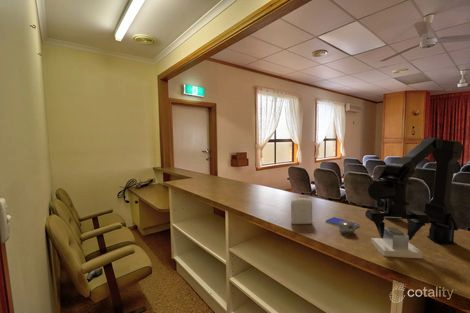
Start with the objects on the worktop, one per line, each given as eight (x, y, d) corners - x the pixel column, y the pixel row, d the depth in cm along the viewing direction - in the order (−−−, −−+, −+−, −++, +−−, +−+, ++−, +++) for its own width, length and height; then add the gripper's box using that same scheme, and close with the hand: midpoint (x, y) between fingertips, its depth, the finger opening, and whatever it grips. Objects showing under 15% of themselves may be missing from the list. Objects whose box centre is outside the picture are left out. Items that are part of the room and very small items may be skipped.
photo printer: (292, 224, 106) (292, 199, 105) (290, 221, 111) (290, 197, 110) (313, 224, 106) (313, 199, 105) (310, 221, 111) (310, 197, 110)
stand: (404, 244, 85) (404, 239, 85) (422, 258, 75) (422, 252, 75) (370, 242, 87) (371, 237, 87) (383, 256, 77) (384, 250, 77)
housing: (408, 249, 77) (408, 234, 77) (392, 248, 78) (393, 233, 78) (396, 240, 84) (397, 226, 84) (382, 239, 85) (383, 225, 84)
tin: (346, 228, 101) (345, 220, 100) (357, 233, 95) (357, 224, 95) (336, 231, 99) (335, 222, 98) (347, 236, 93) (347, 227, 93)
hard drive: (359, 223, 103) (334, 216, 114) (350, 228, 99) (325, 220, 109) (359, 227, 104) (334, 219, 114) (350, 231, 99) (325, 223, 109)
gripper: (411, 192, 86) (409, 231, 87) (360, 191, 89) (359, 228, 90) (432, 200, 75) (429, 244, 76) (372, 198, 78) (371, 241, 79)
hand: (395, 238), depth 81 cm, fingers open, 9 cm apart
